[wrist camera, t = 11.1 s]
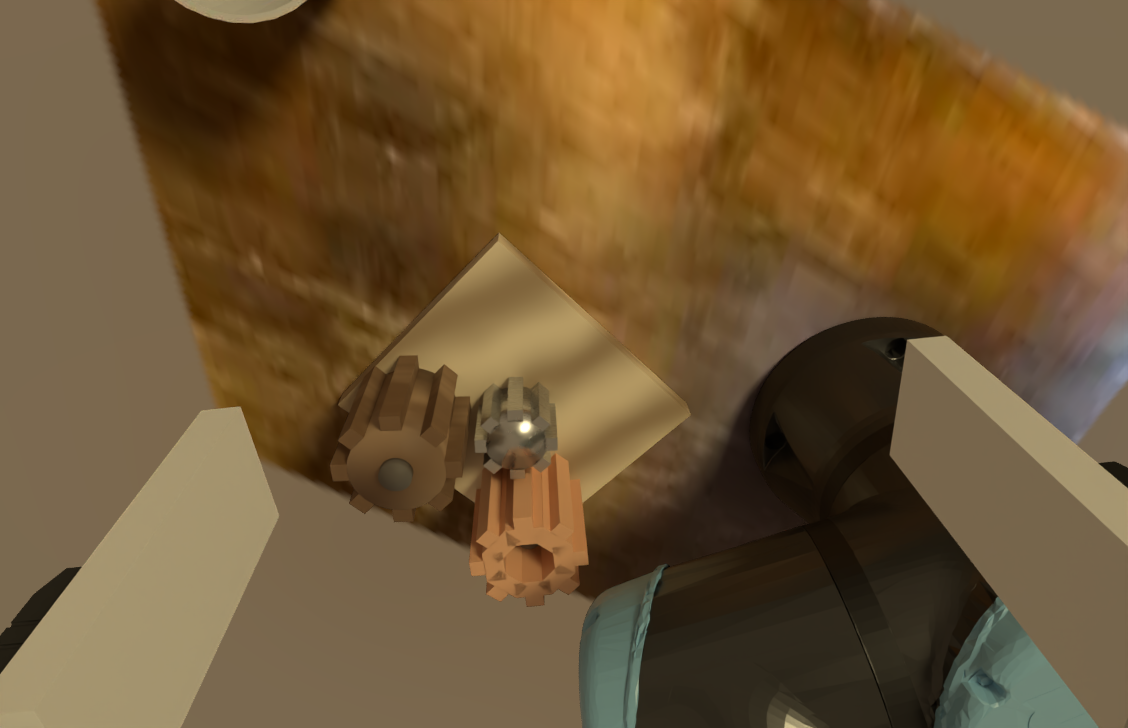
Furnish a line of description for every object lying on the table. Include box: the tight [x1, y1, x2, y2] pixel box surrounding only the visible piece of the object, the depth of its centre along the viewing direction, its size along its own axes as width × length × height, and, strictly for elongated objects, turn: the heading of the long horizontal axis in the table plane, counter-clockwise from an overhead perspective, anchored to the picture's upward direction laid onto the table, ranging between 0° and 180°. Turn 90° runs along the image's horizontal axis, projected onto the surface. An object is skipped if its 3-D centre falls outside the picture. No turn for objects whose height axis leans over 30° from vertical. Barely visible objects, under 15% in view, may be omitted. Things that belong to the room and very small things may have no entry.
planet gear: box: [469, 453, 589, 607], centre depth 46 cm, size 7×7×7 cm
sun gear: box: [474, 377, 558, 479], centre depth 44 cm, size 5×5×4 cm
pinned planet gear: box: [330, 355, 471, 522], centre depth 42 cm, size 7×7×8 cm
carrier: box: [338, 233, 691, 549], centre depth 44 cm, size 17×15×6 cm
